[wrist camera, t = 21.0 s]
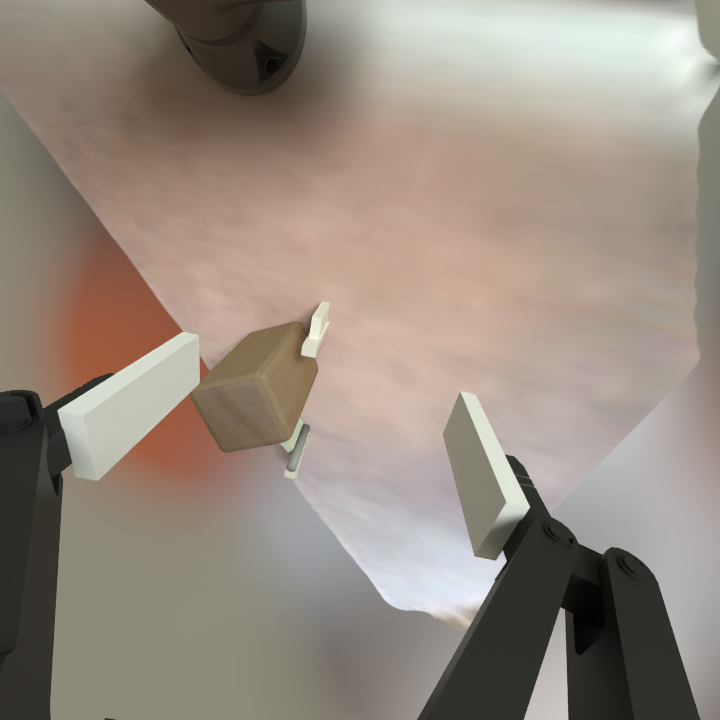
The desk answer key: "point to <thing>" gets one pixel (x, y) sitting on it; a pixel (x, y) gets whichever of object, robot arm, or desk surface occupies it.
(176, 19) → the robot arm
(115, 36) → the desk surface
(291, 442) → the door
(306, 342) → the l-shaped block
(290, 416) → the wooden block
